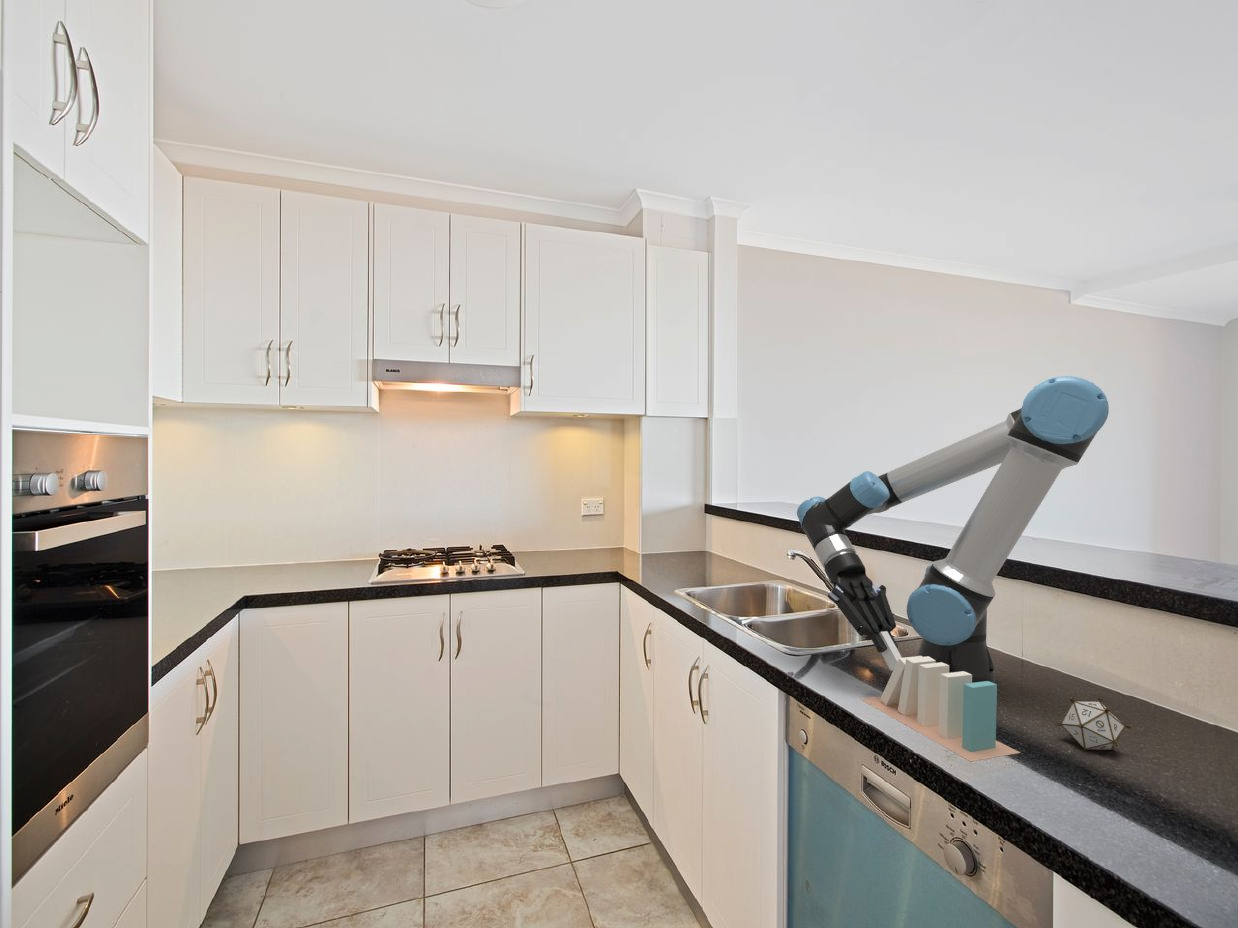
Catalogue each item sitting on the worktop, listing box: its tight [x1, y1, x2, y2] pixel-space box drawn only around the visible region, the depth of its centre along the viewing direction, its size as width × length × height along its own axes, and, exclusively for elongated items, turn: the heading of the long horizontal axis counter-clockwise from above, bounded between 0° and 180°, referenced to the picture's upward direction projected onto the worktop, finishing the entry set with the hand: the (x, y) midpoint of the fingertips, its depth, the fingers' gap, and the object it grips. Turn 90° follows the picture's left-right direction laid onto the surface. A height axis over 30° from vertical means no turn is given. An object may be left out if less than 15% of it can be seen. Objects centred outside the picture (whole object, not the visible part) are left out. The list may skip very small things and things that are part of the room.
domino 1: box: [880, 655, 922, 706], centre depth 109 cm, size 2×5×10 cm, turn 107°
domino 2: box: [898, 656, 936, 716], centre depth 106 cm, size 2×5×10 cm, turn 107°
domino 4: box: [939, 671, 972, 739], centre depth 98 cm, size 2×5×10 cm, turn 108°
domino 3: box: [917, 662, 949, 727], centre depth 102 cm, size 2×5×10 cm, turn 108°
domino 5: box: [962, 681, 998, 752], centre depth 94 cm, size 2×5×10 cm, turn 108°
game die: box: [1054, 696, 1133, 753], centre depth 95 cm, size 9×8×10 cm
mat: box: [860, 695, 1021, 763], centre depth 102 cm, size 24×10×1 cm, turn 18°
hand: (897, 666), depth 110 cm, fingers closed
